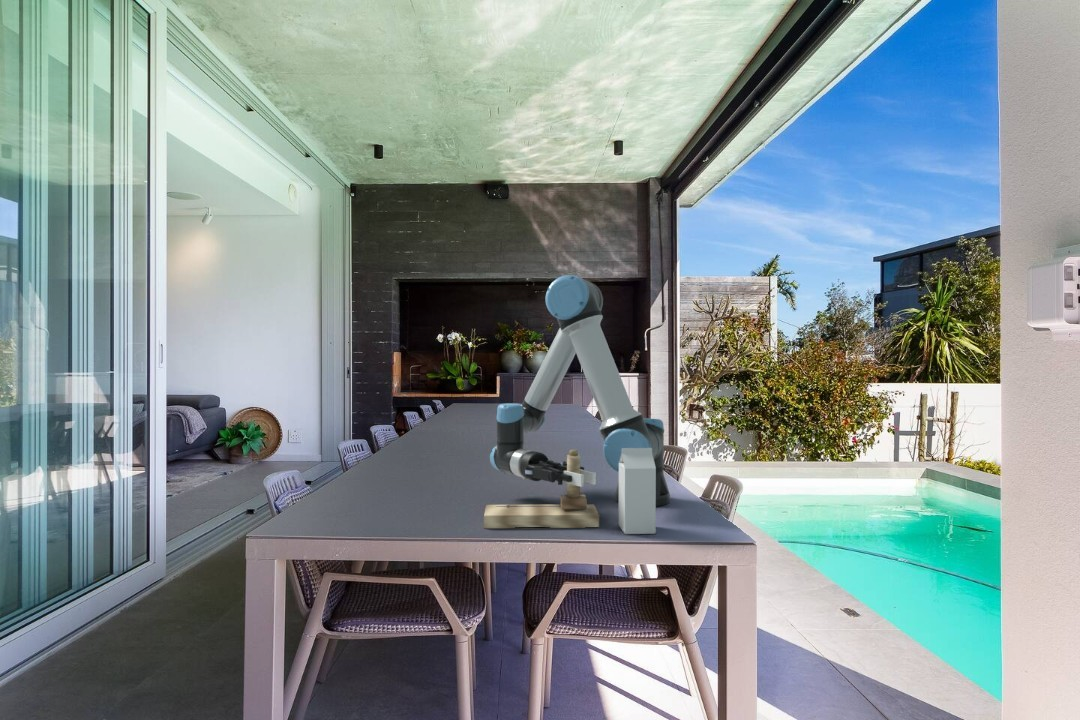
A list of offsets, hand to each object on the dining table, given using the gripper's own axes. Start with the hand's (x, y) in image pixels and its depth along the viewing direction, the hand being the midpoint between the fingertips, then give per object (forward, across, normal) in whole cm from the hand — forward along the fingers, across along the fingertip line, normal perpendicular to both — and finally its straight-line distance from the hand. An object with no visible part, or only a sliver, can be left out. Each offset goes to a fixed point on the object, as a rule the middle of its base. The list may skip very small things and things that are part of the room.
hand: (588, 479), depth 139 cm
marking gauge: (-5, 0, -8) cm, 9 cm away
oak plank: (-10, +6, -11) cm, 16 cm away
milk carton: (+8, -8, -11) cm, 16 cm away
